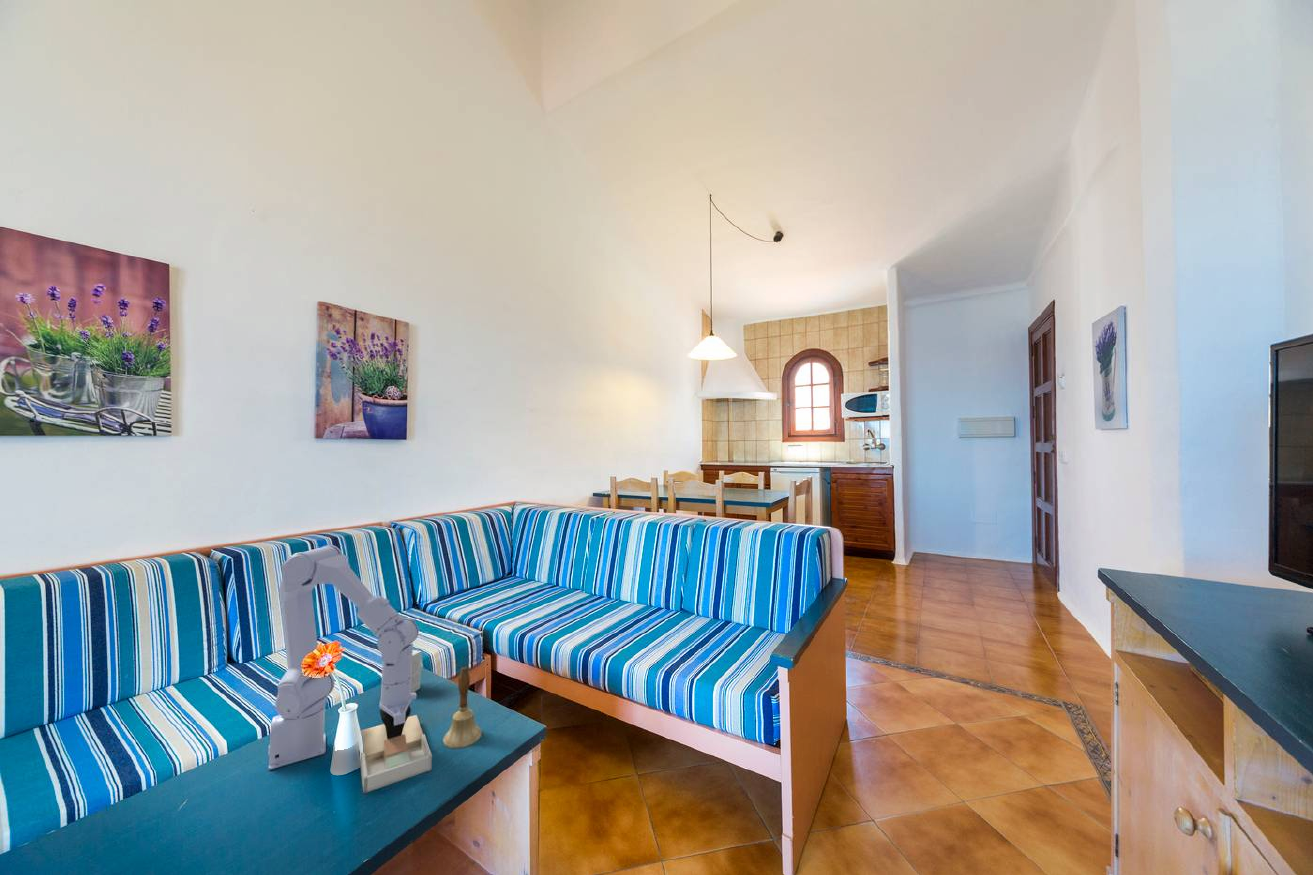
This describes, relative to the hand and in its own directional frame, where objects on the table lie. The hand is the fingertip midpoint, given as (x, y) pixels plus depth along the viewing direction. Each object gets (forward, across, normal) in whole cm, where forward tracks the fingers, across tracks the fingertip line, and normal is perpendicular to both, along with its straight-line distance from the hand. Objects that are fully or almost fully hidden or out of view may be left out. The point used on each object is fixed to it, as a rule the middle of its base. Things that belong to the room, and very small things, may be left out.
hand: (393, 742), depth 99 cm
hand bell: (+3, -2, -14) cm, 14 cm away
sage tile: (+2, -7, 0) cm, 7 cm away
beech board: (+3, +5, 0) cm, 6 cm away
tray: (+3, -5, 0) cm, 6 cm away
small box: (+3, +30, -5) cm, 30 cm away
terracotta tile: (+1, -2, 0) cm, 3 cm away
